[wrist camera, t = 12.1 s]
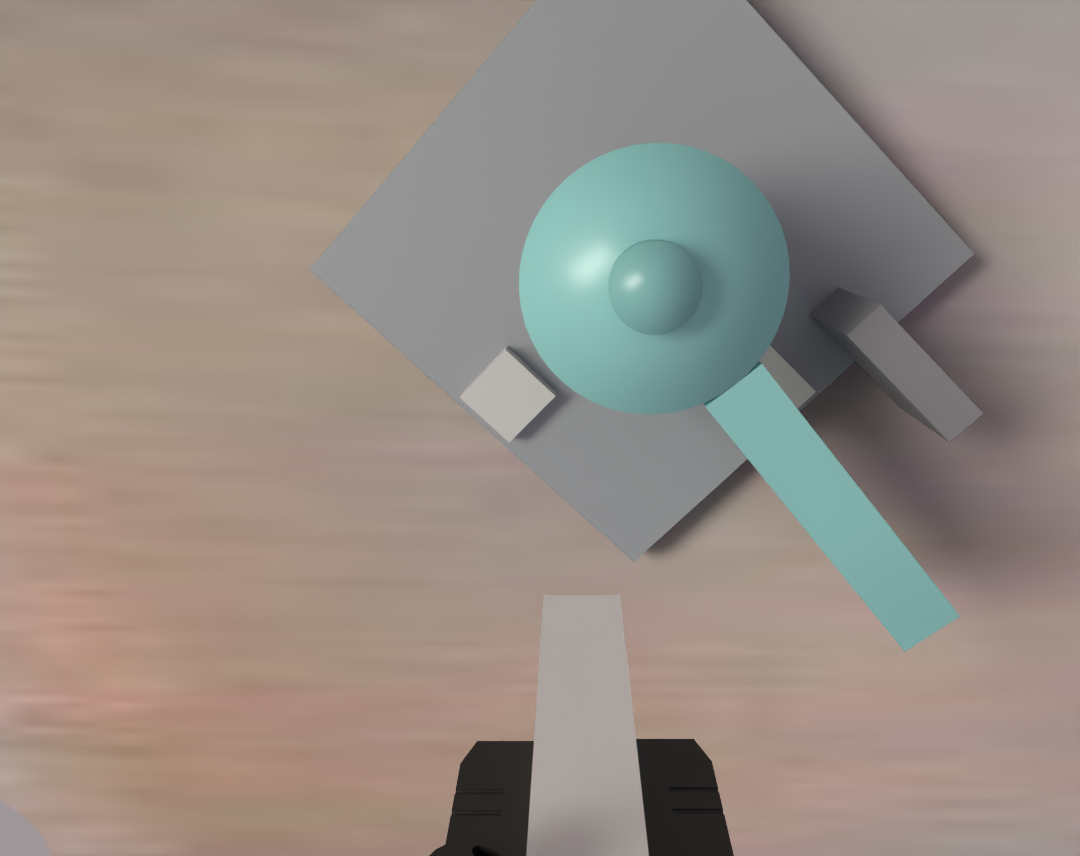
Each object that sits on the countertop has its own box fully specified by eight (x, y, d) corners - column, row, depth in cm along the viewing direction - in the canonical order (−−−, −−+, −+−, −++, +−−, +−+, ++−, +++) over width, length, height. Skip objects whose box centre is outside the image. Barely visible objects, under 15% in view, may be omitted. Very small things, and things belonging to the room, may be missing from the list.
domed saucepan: (482, 253, 33) (459, 271, 26) (659, 97, 31) (682, 75, 24) (792, 619, 37) (839, 714, 30) (964, 503, 35) (1055, 578, 29)
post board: (635, -107, 32) (650, -176, 26) (1001, 298, 36) (1090, 323, 30) (319, 266, 37) (268, 284, 30) (673, 586, 41) (691, 659, 34)
